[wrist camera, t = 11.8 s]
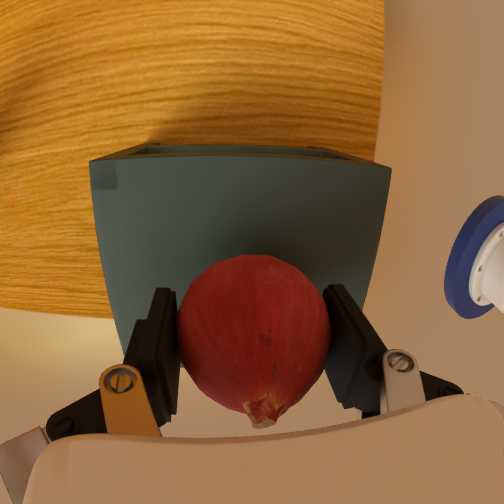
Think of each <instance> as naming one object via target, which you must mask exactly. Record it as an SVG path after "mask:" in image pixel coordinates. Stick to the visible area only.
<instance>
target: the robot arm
mask: <svg viewBox="0 0 504 504" xmlns="http://www.w3.org/2000/svg"><path fill="white" fill-rule="evenodd" d="M469 293H470V297H471V299H472V300H473V301H474V302H475V303H476V304H478V305H480V306H484V305H488V304H490V303H493V304H494V305H495V306H496V307H497V308H498V309H499V310H501V312H503V313H504V222H503V223H501V224H500V225H498V226H497V227H496V228H494V229H493V230H492V232H491V233H490V234H489V235H488V236H487V238H486V239H485V241H484V242H483V244H482V246H481V248H480V249H479V251H478V253H477V256H476V258H475V260H474V263H473V266H472V270H471V273H470V279H469ZM322 297H323V299H324V302H325V305H326V308H327V312H328V315H329V319H330V323H331V340H330V345H329V350H328V355H327V359H326V363H325V367H324V369H325V372H326V374H327V377H328V379H329V382H330V384H331V387H332V389H333V391H334V394H335V397H336V399H337V401H338V402H339V403H341V402H342V405H343V407H344V409H348V408H353V407H355V408H356V409H358V418H357V421H352V422H348V423H343V424H338V425H333V426H328V427H322V428H316V429H310V430H304V431H296V432H289V433H280V434H271V435H260V436H246V437H230V438H229V437H227V438H176V437H175V438H174V437H162V434H161V432H160V429H159V427H161V426H162V425H164V424H165V423H166V422H171V414H175V415H176V412H177V397H178V384H179V373H180V363H181V360H180V357H179V354H178V352H177V329H176V315H177V313H178V309H177V300H176V292H175V291H171V289H170V288H168V287H157V288H156V289H155V293H154V296H153V299H152V302H151V306H150V309H149V313H148V316H147V319H137V320H136V322H135V325H134V328H133V331H132V335H131V338H130V341H129V344H128V348H127V351H126V354H125V358H124V361H123V364H119V365H114V366H111V367H109V368H108V369H106V370H105V371H104V372H103V373H102V374H101V377H100V379H99V386H100V388H99V389H98V390H96V391H94V392H92V393H90V394H89V395H87V396H85V397H83V398H81V399H80V400H78V401H76V402H74V403H72V404H70V405H69V406H67V407H65V408H63V409H61V410H59V411H57V412H56V413H54V414H53V415H51V417H50V418H49V419H48V421H47V424H46V427H44V428H42V429H41V427H40V426H39V427H37V428H34V429H32V430H30V431H29V432H26V433H24V434H22V435H20V436H17V437H15V438H13V439H11V440H9V441H6V442H4V443H2V444H1V445H0V474H1V476H2V479H3V481H4V484H5V486H6V488H7V491H8V493H9V495H10V498H11V500H12V502H13V504H504V407H503V406H502V405H501V404H499V403H496V402H493V401H490V400H487V399H485V398H483V397H481V396H477V395H471V394H468V393H467V394H466V395H465V394H464V393H463V391H462V390H461V388H460V387H458V386H457V385H455V384H453V383H451V382H448V381H445V380H443V379H440V378H438V377H435V376H432V375H430V374H427V373H424V372H422V371H419V367H418V363H417V361H416V359H415V358H414V356H413V355H412V354H410V353H409V352H407V351H405V350H401V349H391V350H388V349H387V348H386V347H385V345H384V343H383V342H382V340H381V339H380V338H379V336H378V334H377V333H376V331H375V330H374V328H373V327H372V325H371V324H370V322H369V321H368V320H367V318H366V317H365V315H364V314H363V312H362V311H361V309H360V308H359V307H358V305H357V304H356V302H355V301H354V299H353V298H352V296H351V295H350V294H349V292H348V291H347V289H346V288H345V287H344V285H343V284H330V285H328V287H327V288H325V289H324V291H323V296H322Z"/></svg>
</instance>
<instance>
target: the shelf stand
mask: <svg viewBox="0 0 504 504" xmlns="http://www.w3.org/2000/svg"><path fill="white" fill-rule="evenodd" d="M89 170H90V183H91V191H92V201H93V210H94V218H95V226H96V233H97V240H98V246H99V252H100V257H101V263H102V268H103V273H104V278H105V283H106V288H107V292H108V297H109V301H110V305H111V309H112V313H113V317H114V321H115V325H116V328H117V332H118V336H119V339H120V343H121V346H122V350H123V353H124V357H125V354H126V351H127V348H128V344H129V341H130V338H131V335H132V331H133V328H134V325H135V322H136V320H137V319H147V316H148V313H149V309H150V306H151V302H152V299H153V296H154V293H155V289H156V288H157V287H168V288H170V289H171V291H175V292H176V300H177V309H178V310H179V307H180V305H181V302H182V300H183V298H184V296H185V294H186V292H187V290H188V288H189V286H190V284H191V282H192V281H193V280H194V279H196V278H197V277H198V276H199V275H200V274H201V273H203V272H204V271H205V270H206V269H207V268H208V267H210V266H211V265H212V264H214V263H217V262H220V261H223V260H226V259H230V258H233V257H236V256H239V255H270V256H273V257H275V258H277V259H280V260H282V261H284V262H287V263H289V264H291V265H293V266H295V267H296V268H297V269H298V270H300V271H301V272H302V273H303V274H304V275H305V276H306V277H307V278H308V279H309V280H310V281H311V282H312V283H313V284H314V286H315V287H316V288H317V289H318V290H319V291H320V293H321V295H322V296H323V291H324V289H325V288H327V287H328V285H330V284H343V285H344V287H345V288H346V289H347V291H348V292H349V294H350V295H351V296H352V298H353V299H354V301H355V302H356V304H357V305H358V307H359V308H360V309H361V311H362V309H363V305H364V302H365V298H366V295H367V291H368V287H369V283H370V279H371V275H372V271H373V267H374V263H375V259H376V254H377V250H378V245H379V241H380V236H381V231H382V226H383V221H384V215H385V210H386V204H387V197H388V192H389V186H390V178H391V172H392V169H391V168H390V167H387V166H384V165H380V164H378V163H374V162H371V161H368V160H365V159H362V158H358V157H355V156H352V155H348V154H345V153H341V152H338V151H334V150H331V149H327V148H323V147H313V146H308V147H307V148H296V147H282V146H264V145H234V144H189V145H160V143H150V144H141V145H137V146H134V147H131V148H127V149H124V150H121V151H118V152H115V153H112V154H109V155H106V156H103V157H100V158H97V159H94V160H92V161H89ZM180 367H184V366H183V364H182V362H181V363H180ZM184 368H185V367H184Z"/></svg>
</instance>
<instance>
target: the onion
mask: <svg viewBox="0 0 504 504" xmlns="http://www.w3.org/2000/svg"><path fill="white" fill-rule="evenodd" d="M176 329H177V352H178V354H179V357H180V360H181V362H182V364H183V366H184V367H185V369H186V371H187V372H188V374H189V375H190V377H191V378H192V379H193V381H194V382H195V384H196V385H197V387H198V388H199V389H200V390H201V391H202V392H203V393H204V394H205V395H206V396H208V397H210V398H211V399H213V400H214V401H216V402H217V403H219V404H221V405H222V406H224V407H226V408H228V409H231V410H234V411H238V412H241V413H245V414H247V415H248V417H249V418H250V420H251V422H252V425H253V428H257V429H261V428H266V427H269V426H271V425H274V424H276V422H277V419H278V418H279V417H280V416H281V415H282V414H284V413H285V412H286V411H287V410H288V408H290V407H291V406H293V405H295V404H296V403H297V402H299V401H300V400H301V399H302V397H303V396H304V395H305V394H306V393H307V392H308V391H309V389H310V388H311V387H312V386H313V384H314V383H315V382H316V381H317V380H318V379H319V377H320V375H321V374H322V372H323V370H324V367H325V363H326V359H327V355H328V350H329V345H330V340H331V323H330V319H329V315H328V312H327V308H326V305H325V302H324V299H323V297H322V295H321V293H320V291H319V290H318V289H317V288H316V287H315V286H314V284H313V283H312V282H311V281H310V280H309V279H308V278H307V277H306V276H305V275H304V274H303V273H302V272H301V271H300V270H298V269H297V268H296V267H295V266H293V265H291V264H289V263H287V262H284V261H282V260H280V259H277V258H275V257H273V256H270V255H239V256H236V257H233V258H230V259H226V260H223V261H220V262H217V263H214V264H212V265H211V266H210V267H208V268H207V269H206V270H205V271H204V272H203V273H201V274H200V275H199V276H198V277H197V278H196V279H194V280H193V281H192V282H191V284H190V286H189V288H188V290H187V292H186V294H185V296H184V298H183V300H182V302H181V305H180V307H179V310H178V313H177V315H176Z"/></svg>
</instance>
